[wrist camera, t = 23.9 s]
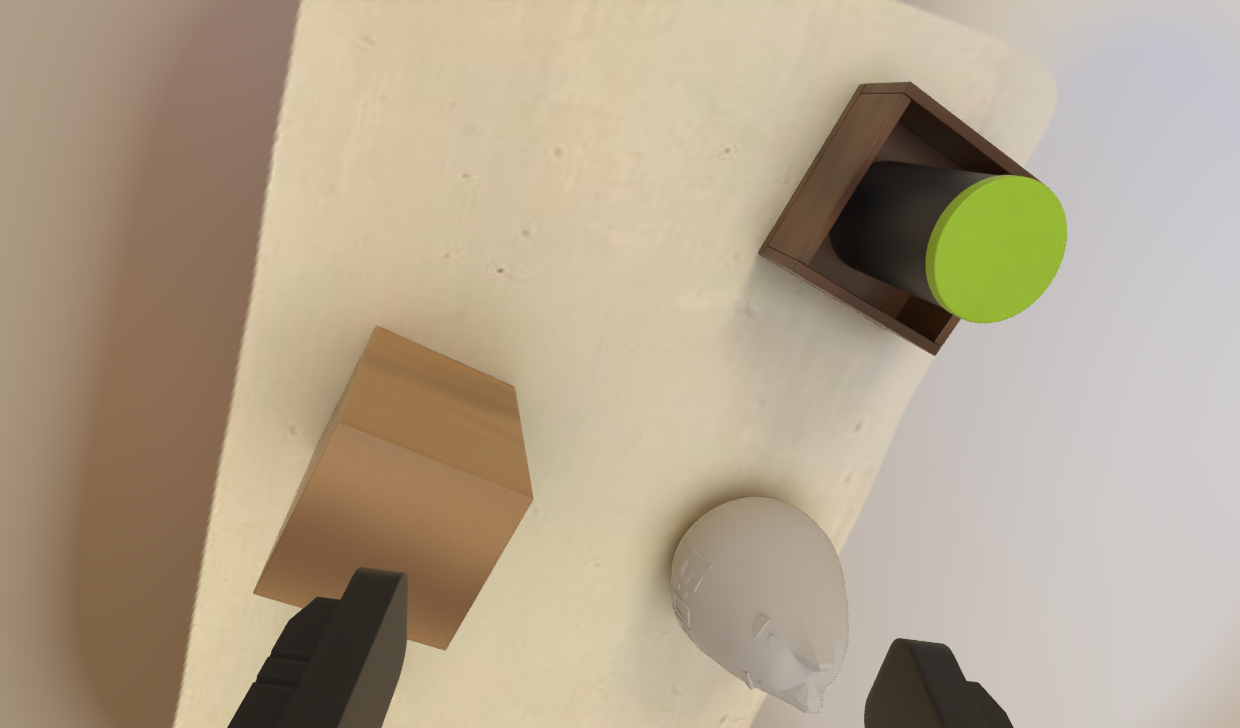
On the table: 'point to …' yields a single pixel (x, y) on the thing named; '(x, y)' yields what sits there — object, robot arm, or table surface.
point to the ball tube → (954, 237)
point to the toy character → (764, 598)
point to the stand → (407, 488)
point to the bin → (864, 134)
